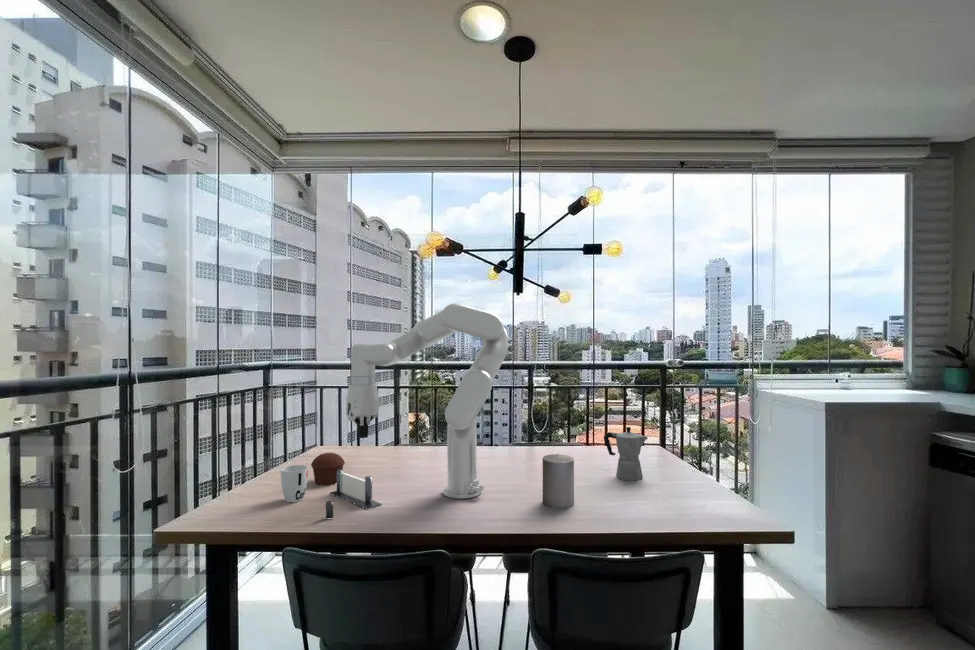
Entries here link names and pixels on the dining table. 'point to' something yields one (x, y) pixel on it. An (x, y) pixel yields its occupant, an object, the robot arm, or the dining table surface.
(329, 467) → the muffin
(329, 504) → the gate frame
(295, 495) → the cup
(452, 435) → the robot arm
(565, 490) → the pillar candle
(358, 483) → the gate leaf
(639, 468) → the coffeepot
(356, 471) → the dining table surface
